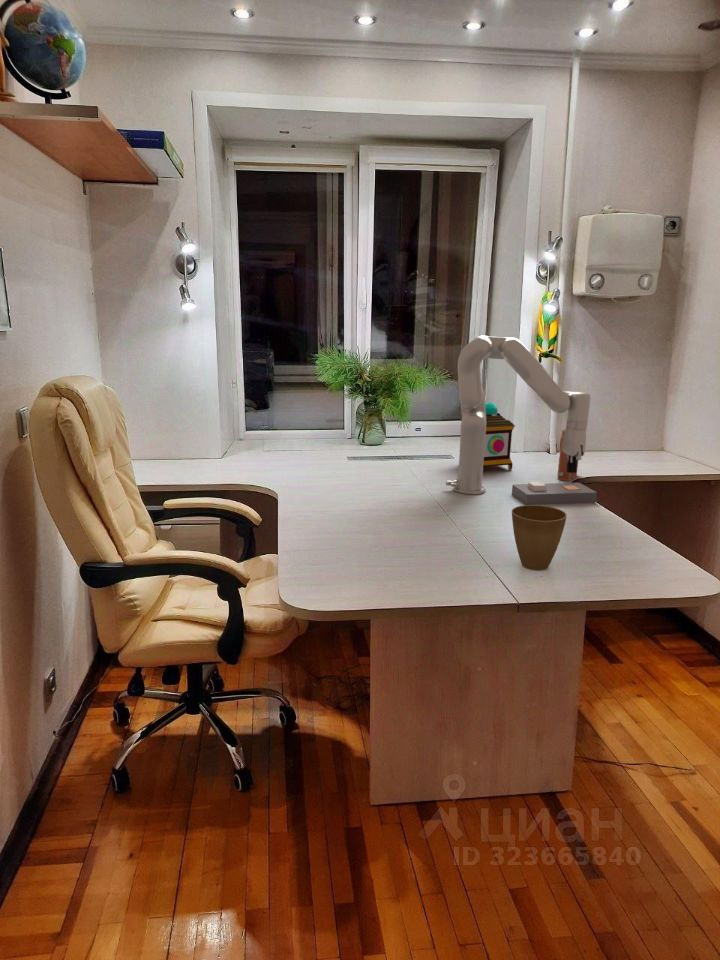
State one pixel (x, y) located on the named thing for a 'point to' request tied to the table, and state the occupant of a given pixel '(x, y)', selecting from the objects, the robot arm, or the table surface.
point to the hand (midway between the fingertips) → (571, 472)
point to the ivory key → (537, 486)
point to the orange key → (570, 487)
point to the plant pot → (537, 534)
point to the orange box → (564, 464)
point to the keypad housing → (554, 494)
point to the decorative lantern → (497, 438)
